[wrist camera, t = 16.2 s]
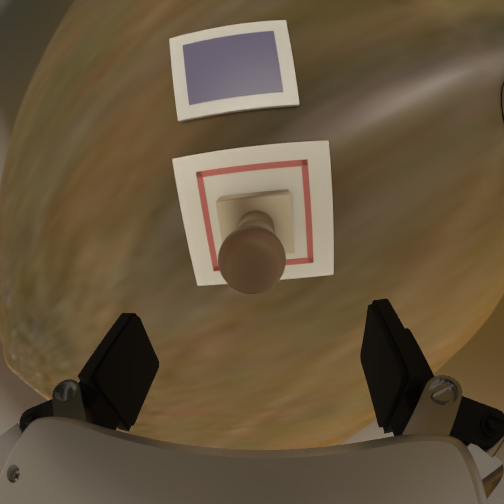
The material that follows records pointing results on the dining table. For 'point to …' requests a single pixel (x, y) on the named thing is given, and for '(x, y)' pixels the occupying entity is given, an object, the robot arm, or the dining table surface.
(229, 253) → the stamp
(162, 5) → the dining table surface
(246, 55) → the ink pad
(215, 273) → the paper sheet
